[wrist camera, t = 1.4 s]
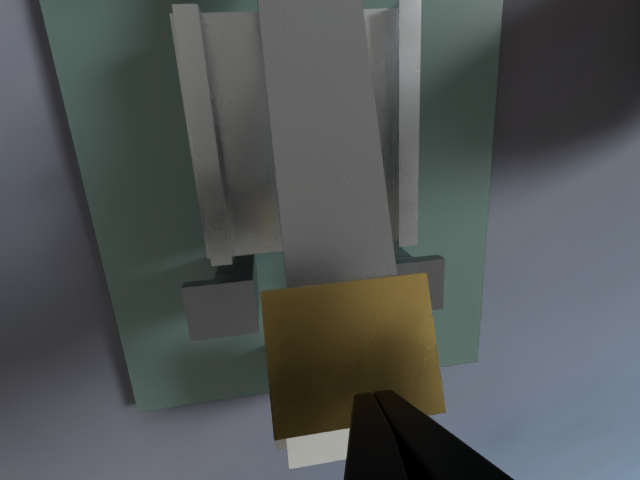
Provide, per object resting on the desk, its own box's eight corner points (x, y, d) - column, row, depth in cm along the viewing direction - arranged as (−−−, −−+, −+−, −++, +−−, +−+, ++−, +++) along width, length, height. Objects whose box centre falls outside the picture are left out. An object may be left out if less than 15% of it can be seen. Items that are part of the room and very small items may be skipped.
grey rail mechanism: (412, -130, 16) (487, -258, 11) (408, 274, 21) (457, 323, 16) (135, -137, 14) (63, -288, 9) (205, 298, 20) (184, 359, 14)
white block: (356, 298, 21) (392, 361, 15) (359, 369, 22) (392, 451, 16) (265, 309, 20) (266, 379, 15) (273, 381, 21) (277, 471, 16)
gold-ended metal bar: (349, -151, 13) (362, -219, 11) (420, 392, 11) (447, 413, 10) (219, -155, 12) (210, -227, 11) (274, 415, 11) (274, 442, 9)
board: (501, -157, 17) (515, -175, 16) (469, 352, 24) (477, 361, 23) (9, -175, 14) (-8, -196, 13) (143, 399, 22) (137, 412, 21)
